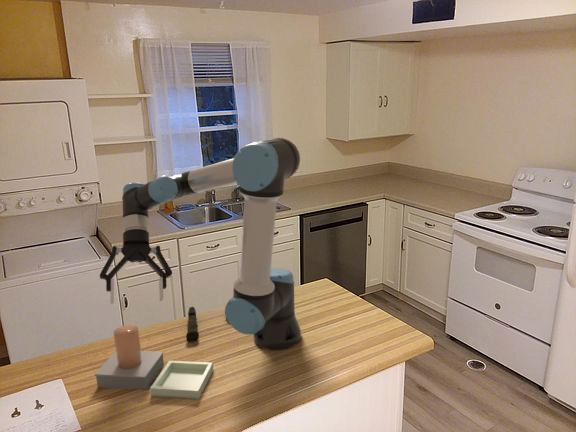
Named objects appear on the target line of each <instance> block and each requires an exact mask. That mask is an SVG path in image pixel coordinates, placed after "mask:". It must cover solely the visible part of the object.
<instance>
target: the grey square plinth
mask: <svg viewBox="0 0 576 432" xmlns="http://www.w3.org/2000/svg"><path fill="white" fill-rule="evenodd" d="M163 354H164V351H156V350H155V351H154V350H152V351H151V350H141V355H142V362H141V364H140V365H138V366H137V367H134V368H131V369H122V368H120V367H119V366H118V360H117V353H116V350H115V352H114V353H112V355H110V357H109V358H108V359H107V360H106V361H105V362H104V363H103V364H102V366H101V367H100V368H99V369H98V370H97V371H96V372H95V373H94V376H95V377H96V383H97V384H96V385H97V388H105V389H118V390H119V389H120V390H121V389H122V390H137V391H139V390H140V391H147V390H148V388H149V387H150V385H151V384H152V383H153V381H154V380H155V378H156V377H158V376H157V375H158V374H159V373H160V371H162V369H163V368H164V365H165V364H164V355H163Z"/></svg>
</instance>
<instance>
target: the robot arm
mask: <svg viewBox="0 0 576 432" xmlns="http://www.w3.org/2000/svg"><path fill="white" fill-rule="evenodd" d="M300 164H301V155H300V151H299V150H298V148H297V146H296V144H294V143H293V141H291V140H289V139H287V138H283V137H274V138H269V139H265V140H261V141H259V140H257V141H253V142H250V143H249V144H246V145H244V146H242V147H241V148H240V149H239V150H238V151H237V152H236V153H235V156H234V157H233V158H230V159H227V160H223V161H219V162H216V163H213V164H209V165H206V166H202V167H198V168H195V169H191V170H188V171H184V172H181V173H177V174H174V175H170V176H168V175H161V176H158V177H155V178H153V179H152V180H150V181H149V182H146V183H142V182H138V181H137V182H132V183H131V182H130V183H127V184H125V185H123V188H122V196H121V197H122V199H121V200H122V231H123V234H122V247H117V246H116V245H114V246H112V248H111V253H110V255H109V257H108V259H107V261H106V262H105V265H104V267H103V268H102V270H101V272H100V273H99V278H100V279H101V280H105V282H106V284H105V287H106V289H105V290H106V292H107V293H109V292H110V305H111V304H114V299H115V298H114V297H115V296H114V295H115V293H114V286H115V285H114V284H115V283H114V280H115V279H114V277H115V275H117V274H118V272H120V270H121V269H122V268H123V267H124V266H125V265H126V264H127V263H128V262H129V263H135V262H136V263H142V262H145V263H146V265H148V266H149V267H150V268H151V269H152V270H153V271H154V272H155V273H156V274H157V275H158V277H159V278H158V289H159V290H158V291H159V292H158V293H159V295H158V296H159V302H160V301H161V302H162V301H163V300H164V290H165V289H166V288H167V278H169V277H172V274H173V271H172V269H171V267H170V266H169V263H168V262H167V260H166V259H165V257H164V255H163V254H162V251H161V246H160V245H156V246H155V247H151V245H150V232H149V230H150V225H149V211H150V210H152V209H154V208H156V207H159V206H161V205H163V204H166V203H169V202H172V201H175V200H178V199H181V198H185V197H188V196H192V195H196V194H199V193H203V192H207V191H212V190H215V189H218V188H219V189H220V188H223V187H228V186H231V185H236V184H237V185H238V186H239V188H238V191H239V194H240V195H241V196H243V198H244V202H243V203H244V204H243V219H242V235H241V249H240V250H241V252H240V253H241V254H240V267H239V268H240V270H239V277H238V278H237V279H236V280H235V281H234V283H233V291H232V292H233V294H232V298H230V299H229V300H228V301H227V302H226V304H225V306H224V315H226V316H225V319H226V318H227V319H226V321H227V322H228V323H229V325H231V327H232V328H233V329H234V330H235V331H236V332H238V333H241V334H243V335H250V336H251V335H253V341H254V343H255V344H256V345H257V346H259V347H260V348H263V349H265V350H274V351H275V350H276V351H278V350H279V351H280V350H285V349H289V348H291V347H294V346H296V345H297V344H298V343H300V341H301V339H302V330H301V327H300V325H299V322H298V319H297V317H296V313H295V311H296V310H295V281H294V274H293V272H292V271H290V270H289V269H286V268H281V267H272V262H273V261H272V259H273V251H274V249H273V248H274V237H275V225H276V217H277V216H276V214H277V203H278V202H277V201H278V200H279V199H280V198H281V197H282V196H283V195H284V190H285V180H287V179H290V178H291V177H292V176H293V175H294V174H295V173H296V172H297V170H298V169H299V167H300ZM151 252H152V254H153V255H155V257H156V258H157V260H158V262H159V263H160V266H161V267H162V268H161V267H160V266H159V265H158V264H157V263H156V261H154V260H153V259H152V257H151V255H150V254H151ZM120 253H121V254H122V255H123V257H122V258H121V259H120V261H119V262H118V263H117V264H116V265H115V266H114V267H113V268H112V270H110V268H111V266H112V263H113V262H114V260H115V259H116V256H119V254H120ZM109 270H110V272H108V271H109ZM107 273H108V274H107Z"/></svg>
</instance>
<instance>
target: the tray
mask: <svg viewBox="0 0 576 432" xmlns="http://www.w3.org/2000/svg"><path fill="white" fill-rule="evenodd" d="M213 372H214V362H207V361H206V362H205V361H204V362H203V361H187V360H186V361H185V360H183V361H182V360H168V362H167V363H166V364H165V366H163V368H162V369H161V372H159V373H160V374H159V375H158V376H157V378H156V379H155V381H154V382H152V383H153V384H152V385H151V387H150V388H149V389H150V396H151V397H152V398H153V397H154V398H171V399H187V400H199V399H200V398H201V396H202V394H203V392H204V390H205V388H206V385H207V384H208V382H209V380H210V379H211V376H212V374H213Z"/></svg>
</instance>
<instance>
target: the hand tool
mask: <svg viewBox="0 0 576 432" xmlns="http://www.w3.org/2000/svg"><path fill="white" fill-rule="evenodd" d="M188 308H189V309H188V313H187V314H188V315H187V316H188V318H187V332H186V336H185V337H186V338H185V339H186V342H188V343H195V342H198V341H199V337H200V333H199V331H198V330H199V329H198V328H199V325H198V321H197V319H198V318H197V312H196V311H197V310H196V308H195V307H194V306H191V307H188Z"/></svg>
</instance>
